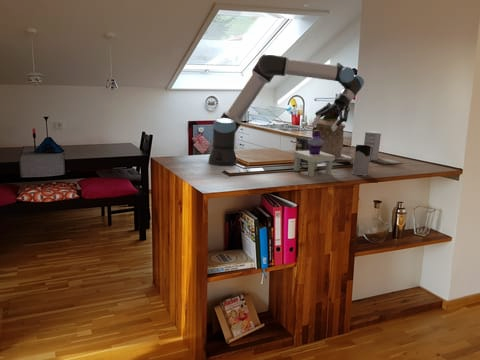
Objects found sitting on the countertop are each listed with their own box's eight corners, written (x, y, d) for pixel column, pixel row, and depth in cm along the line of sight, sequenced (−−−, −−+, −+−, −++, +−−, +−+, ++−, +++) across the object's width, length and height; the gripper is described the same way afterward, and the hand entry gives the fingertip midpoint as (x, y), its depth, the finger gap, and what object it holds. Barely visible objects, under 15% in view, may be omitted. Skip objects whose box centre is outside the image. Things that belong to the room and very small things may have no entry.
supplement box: (377, 160, 280) (380, 133, 276) (361, 159, 283) (365, 132, 278) (377, 158, 289) (381, 131, 285) (362, 156, 291) (366, 130, 287)
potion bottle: (326, 154, 236) (328, 131, 233) (317, 155, 230) (319, 132, 227) (312, 151, 241) (314, 128, 238) (302, 152, 235) (305, 129, 232)
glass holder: (348, 173, 241) (351, 145, 237) (362, 170, 251) (365, 143, 247) (362, 176, 235) (366, 148, 231) (376, 173, 245) (380, 146, 241)
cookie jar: (353, 160, 276) (359, 107, 268) (315, 160, 270) (320, 105, 262) (335, 152, 299) (340, 103, 291) (300, 152, 293) (304, 101, 285)
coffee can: (299, 164, 255) (301, 139, 252) (291, 160, 265) (293, 136, 261) (315, 164, 259) (318, 139, 256) (306, 160, 268) (309, 136, 265)
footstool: (309, 176, 228) (311, 157, 226) (292, 169, 241) (293, 151, 238) (332, 174, 236) (335, 155, 233) (314, 168, 248) (316, 150, 246)
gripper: (365, 107, 240) (343, 136, 234) (328, 101, 258) (307, 128, 252) (361, 96, 235) (338, 126, 229) (323, 91, 253) (302, 119, 247)
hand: (322, 127), depth 241 cm, fingers open, 13 cm apart
